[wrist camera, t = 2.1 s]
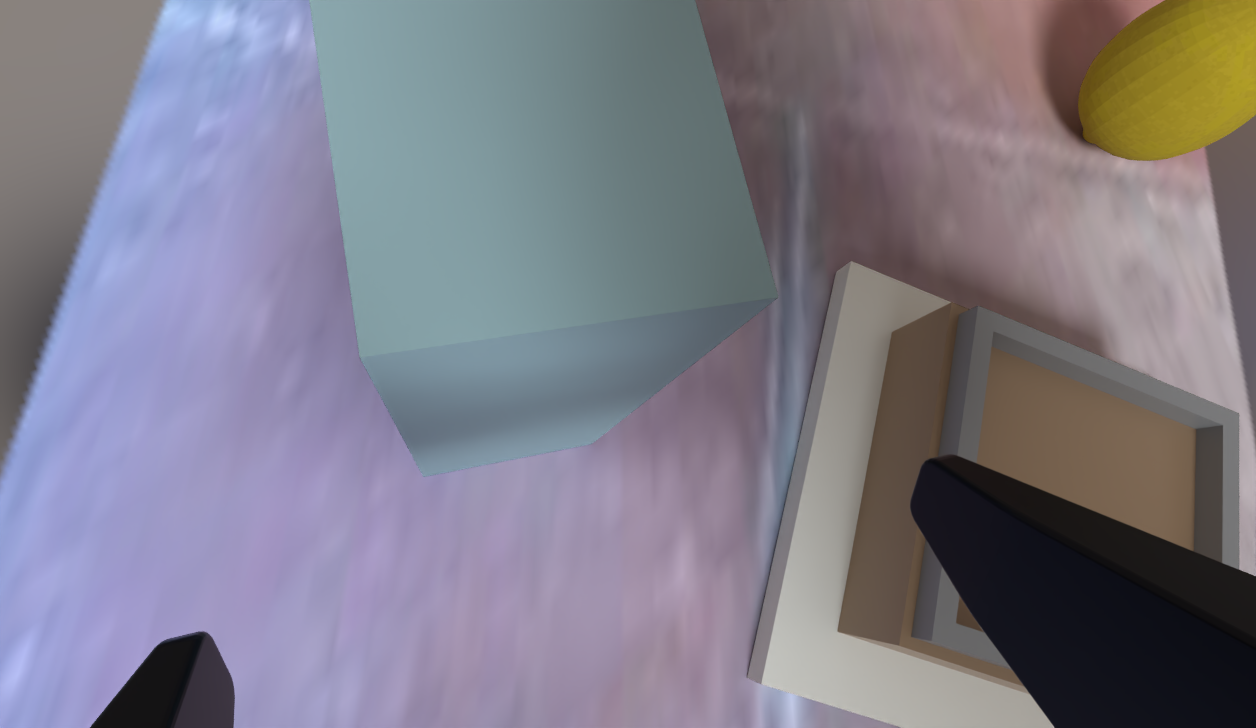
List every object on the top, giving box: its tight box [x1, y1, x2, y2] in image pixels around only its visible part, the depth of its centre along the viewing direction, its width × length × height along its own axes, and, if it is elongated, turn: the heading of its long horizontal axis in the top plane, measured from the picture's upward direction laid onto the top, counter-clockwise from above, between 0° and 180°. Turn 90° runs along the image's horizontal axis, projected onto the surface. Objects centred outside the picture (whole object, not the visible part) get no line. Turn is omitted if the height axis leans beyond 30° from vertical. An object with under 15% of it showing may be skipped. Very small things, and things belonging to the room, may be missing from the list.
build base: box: [747, 261, 1239, 728], centre depth 21 cm, size 14×14×5 cm
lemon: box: [1078, 0, 1256, 161], centre depth 26 cm, size 6×6×8 cm
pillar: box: [309, 0, 778, 477], centre depth 14 cm, size 5×5×13 cm
